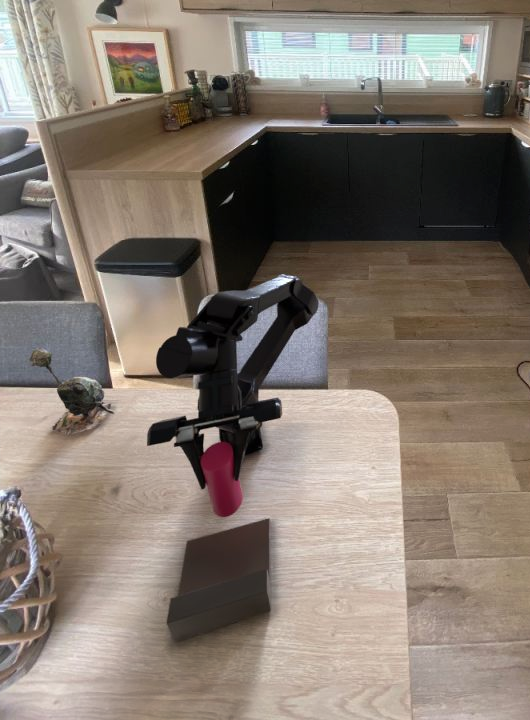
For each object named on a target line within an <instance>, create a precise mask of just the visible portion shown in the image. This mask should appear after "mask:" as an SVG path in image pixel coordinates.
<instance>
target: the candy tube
mask: <svg viewBox="0 0 530 720" xmlns="http://www.w3.org/2000/svg"><path fill="white" fill-rule="evenodd" d="M201 466H202V470H203V474H204V477H205V481H206V488H207V492H208V495H209V499H210V503H211V506H212V510H213V513H214V514H215V515H216V516H217V517H219V518H228V517H231V516H232V515H233V514H235V513H236V512H237V511H238V510H239V509H240V507H241V505H242V503H243V500H244V494H243V490H242V485H241V481H240V479H239V480H238V481H235V473H234V467H235V458H234V453H233V449H232V446H231V445H230V444H229V443H226V442H220V441H218V442H215V443H213V444H211V445H209V447H207V448H206V450H204V453H203V455H202V458H201Z"/></svg>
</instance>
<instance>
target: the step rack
mask: <svg viewBox="0 0 530 720" xmlns="http://www.w3.org/2000/svg"><path fill="white" fill-rule="evenodd" d="M271 611H272V524H271V519H270V517H268V518H265V519H260V520H257V521H254V522H250V523H246V524H243V525H239V526H235V527H232V528H227V529H225V530H222V531H218V532H214V533H211V534H207V535H203V536H200V537H195V538H193V539H189V540H187V541H186V544H185V551H184V557H183V562H182V569H181V575H180V581H179V587H178V593H177V595H176V596H173V597H170V602H169V606H168V612H167V617H166V623H165V624H166V626H167V628H168V631H169V633H170V636H171V638H172V641H173V643H179V642H181V641H184V640H187V639H190V638H192V637H196V636H199V635H201V634H205V633H207V632H211V631H214V630H217V629H219V628H223V627H226V626H228V625H233V624H235V623H238V622H241V621H244V620H247V619H250V618H253V617H256V616H259V615H262V614H265V613H267V612H271Z"/></svg>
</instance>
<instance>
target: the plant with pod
mask: <svg viewBox="0 0 530 720" xmlns="http://www.w3.org/2000/svg"><path fill="white" fill-rule="evenodd" d="M52 356H53V354H52V353H51V352H50V351H48V350H47V349H45V348H43V347H35V348H34V350H33V351H32V353H31V356H30V357H29V359H28V360H29V362H32V364H31V367H35V366H36V367H40V368H45V369H46V370H48V372H49V373H50V374H51V375H52V377H54V379H55V380H56V382H57V384H58V385H57V388H56V393H57V394H58V397H59V399H60V401H61V402H62V403H63V405H64V408H65V412H64V413H63V415H62V416H61V417H59V419H58V420H57V421H56V423H54V425H52V427H51V429H52V431H55V432H58V433H62V434H64V435H68V436H72V435H75V434H77V433H80V432H86V431H87V430H90V429H95V428H97V427H98V426H100V424H101V423H102V422H103V421H104V420H105V418H107V415H108V414H112V415H114V414H115V413H116V412H115V411H114V409H112V404H111V403H109V402H104V401H103V400H104V398H105V391H104V389H103V387H102V384H100V383H99V382H98V381H97V380H96V379H95V378H90V377H87V376H74V377H70V378H68V379H66V380H64V381H63V382H61V381H60V379H59V377H58V376H57V375H56V374H55V372H53V370H52V366H51V364H52Z"/></svg>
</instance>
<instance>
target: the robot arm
mask: <svg viewBox="0 0 530 720" xmlns="http://www.w3.org/2000/svg"><path fill="white" fill-rule="evenodd" d="M275 305H276V317H275V319H274V320H273V322H272V323H271V325H269V328H268V329H267V331H266V332H265V334H264V335H263V337H262V338H261V339H260V341H259V342H258V344H257V345H256V346H255V348H254V350H253V351H252V352H251V354H250V355H249V356H248V358H247V359H246V361H245V362H244V364H243V365H242V367H241V369H240V370H239V371H238V350H237V343H238V342H241V341H243V338H244V337H243V336H242V334H243V333H245V332H246V331H247V330H248V329H249V328H251V327H252V326H253V325H255V324H256V323H257V322H258V318H259V315H260V314H261V313H262V312H264V311H266V310H268V309H270V308H271V307H273V306H275ZM319 305H320V303H319V299H318V297H317V295H316V294H315V292H314V291H313V290H312V289H311V288H309V287H308V286H306V285H305V284H304V283H303V281H302V279H301V278H299V277H298V276H293V275H288V274H284V273H282V274H278V275H276V276H275V278H272V279H270V280H267V281H265V282H263V283H260V284H258V285H256V286H253V287H251V288H248V289H244V290H225V291H224V290H223V291H219V292H217V293H214V294H213V295H212V296H210V299H209V300H208V301H207V303H206V304H205V305H204V306H203V307H202V308H201V310H200V311H199V312H198V313H197V314H196V315H195V317H194V318H193V319H192V320H191V321H190V323H188V324H187V326H186V327H185V326H179V327H178V328H177V331H176V334H175V335H172V336H170V337H168V338H167V339H166V340H164V342H163V343H162V344H161V346H160V347H159V348H158V350H157V352H156V357H155V364H156V368H157V371H158V373H159V374H160V375H161V376H163V377H164V378H166V379H176V378H185V377H193V376H198V382H197V390H198V399H197V408H196V409H197V411H198V412H197V417H194V418H190V419H188V418H187V415H182V416H177V417H171V418H166V419H162V420H159V421H156V422H153V423H151V425H150V426H149V428H148V430H147V434H146V435H147V436H146V447H150V446H156V445H161V444H164V443H165V444H166V443H170V442H172V440H173V439H174V438H175V442H173V447H174V448H179V447H180V448H181V450H182V452H183V453H184V455H185V456H186V457H185V458H187V460H188V461H189V464H190V466H191V468H192V470H193V472H194V475H195V479H196V480H197V483H198V485H199V488H200V490H205V489H206V488H207V485H206V481H205V477H204V474H203V470H202V466H201V458H202V455H203V453H204V452H205V449H204V441H205V433H204V432H203V433H200V432H201V431H203V430H208V429H212V428H217V429H218V435H219V442H226V443H229V444H230V445H231V446H232V449H233V453H234V458H235V467H234V473H235V481H238V480H239V481H240V476H241V472H242V468H243V465H244V459H245V457H246V456H249V455H251V454H254V453H257V452H260V451H262V450H263V449H264V444H263V440H262V439H263V438H262V434H261V428H262V426H263V423H265V422H269V421H275V420H279V419H281V418H282V416H283V403H282V400H281V399H280V398H279V397H273V398H268V399H263V400H259V398H260V397H259V393H260V390H259V389H260V388H261V386H262V384H263V383H264V382H265V379H266V378H267V377H268V374H269V373H270V372H271V370H272V368H273V367H274V365H275V364H276V362H277V360H278V359H279V357H280V355H281V354H282V352H283V351H284V349H285V347H286V345H287V344H288V342H289V341H290V339H291V338H292V336H293V334H294V332H295V331H297V330H298V329H300V328H302V327H304V326H307V325H308V323H309V322H310V321H311V319H312V318H313V317H314V315H316V314H317V312H318V309H319Z"/></svg>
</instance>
